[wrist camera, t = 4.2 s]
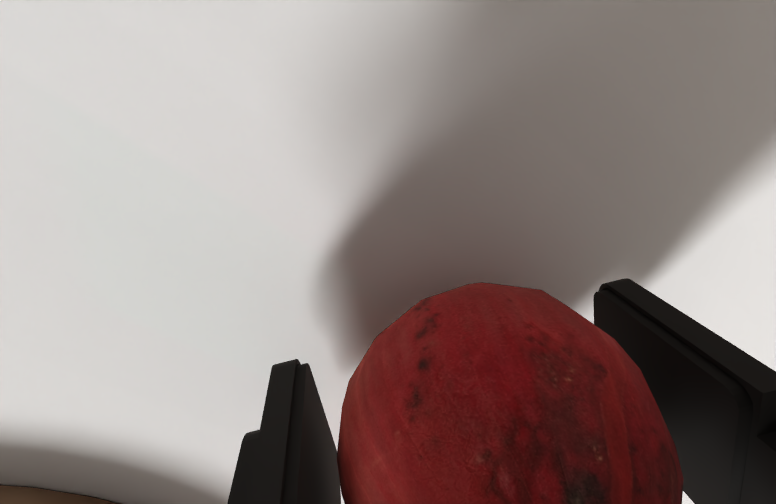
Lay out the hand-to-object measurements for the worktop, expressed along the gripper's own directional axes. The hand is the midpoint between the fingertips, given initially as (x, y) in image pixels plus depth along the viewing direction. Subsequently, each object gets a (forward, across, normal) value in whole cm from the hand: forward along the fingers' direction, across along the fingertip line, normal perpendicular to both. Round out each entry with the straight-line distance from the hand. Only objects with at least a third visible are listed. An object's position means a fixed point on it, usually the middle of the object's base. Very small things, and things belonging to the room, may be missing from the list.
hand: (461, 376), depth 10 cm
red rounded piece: (+2, 0, 0) cm, 2 cm away
